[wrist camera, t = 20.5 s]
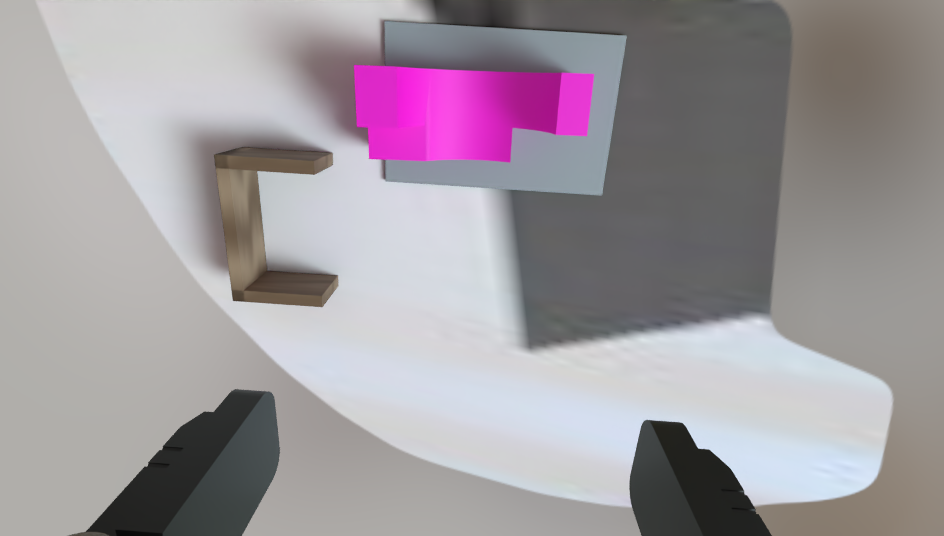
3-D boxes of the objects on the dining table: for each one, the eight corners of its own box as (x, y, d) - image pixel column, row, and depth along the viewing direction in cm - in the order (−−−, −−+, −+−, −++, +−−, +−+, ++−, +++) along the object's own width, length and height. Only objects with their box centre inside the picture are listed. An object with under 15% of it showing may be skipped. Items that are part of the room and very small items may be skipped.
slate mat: (385, 21, 37) (384, 21, 36) (625, 36, 36) (626, 35, 36) (386, 180, 41) (385, 181, 41) (600, 194, 41) (601, 195, 40)
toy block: (382, 150, 40) (358, 165, 33) (379, 68, 38) (353, 65, 31) (566, 158, 39) (582, 174, 32) (575, 75, 37) (594, 73, 30)
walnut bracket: (242, 147, 41) (214, 154, 36) (332, 152, 40) (313, 161, 36) (257, 280, 45) (232, 300, 41) (338, 285, 45) (322, 306, 41)
